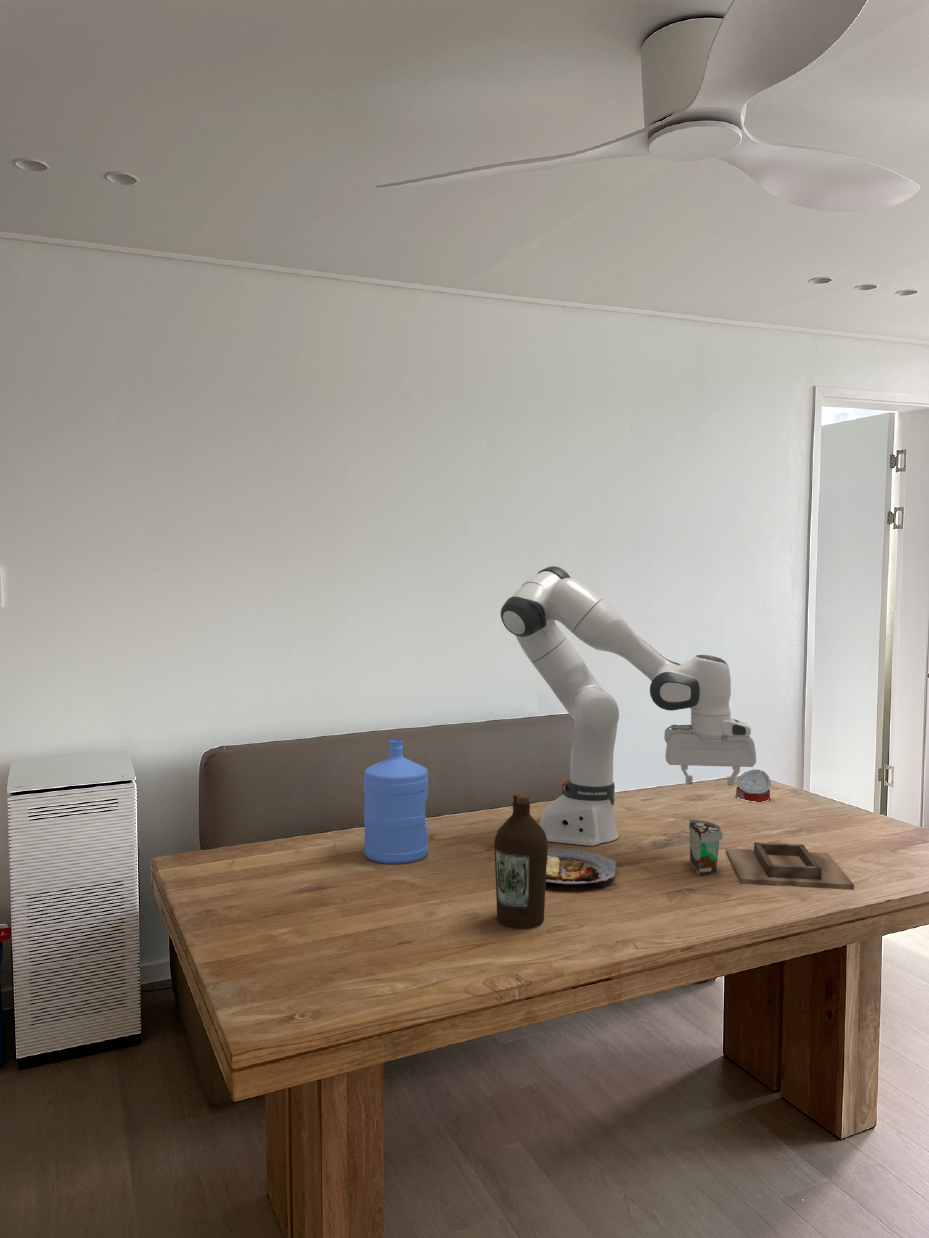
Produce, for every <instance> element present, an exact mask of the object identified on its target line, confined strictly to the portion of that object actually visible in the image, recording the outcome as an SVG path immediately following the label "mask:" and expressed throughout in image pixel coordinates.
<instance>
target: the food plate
mask: <svg viewBox="0 0 929 1238" xmlns="http://www.w3.org/2000/svg"><path fill="white" fill-rule="evenodd" d="M561 862H566V864H565V866H566V868H567V869H566V868H563V866H562V864H561ZM585 864H586V865H587V867H586V868H583V869H582V867H583V866H585ZM588 865H589V866H588ZM563 871H564V872H563ZM616 871H617V861H616V860H614V859H612V858H609V857H606V856H604V855H601V854H599V853H595V852H593V851H592V852H591V851H587V850H581V849H577V848H576V849H575V848H548V854H547V869H546V884H549V883H550V884H558V885H559V884H561V885H564V886H580V885H586V884H587V885H588V884H591V885H592V884H595V885H596V884H599V883H603V884H604V882H607V881H609V879H610V880H613V879H614V877H615V876H616ZM562 873H564V874H562Z"/></svg>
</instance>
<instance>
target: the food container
mask: <svg viewBox="0 0 929 1238" xmlns="http://www.w3.org/2000/svg"><path fill="white" fill-rule="evenodd" d="M688 823H689V824H688V825H689V826H688V828H689V863H690V864H691V865H692V867H693V869H694V868H695V869H694V870H695V872H696V873H697V875H699V876H708V875H709V874H710V875H712V874H711V873H713V874H715V873H716V872H717V869H718V859H719V847H720V841H722V839H723V832H722V830H721V827H720V826H719V825H718V824H716V823H714V822H711V821H707V820H701V819H689V822H688Z"/></svg>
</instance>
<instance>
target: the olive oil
mask: <svg viewBox="0 0 929 1238" xmlns="http://www.w3.org/2000/svg"><path fill="white" fill-rule="evenodd" d="M530 812H531V802H530V795H529V794H527V793H516V794H514V795H513V801H512V814H511V815H510V816H509V818H507V820H506V821H505V822H504V823H503V824H502V825H501V826H500V827H499V828H498V830H497V831H496V834H495V838H494V843H493V845H494V846H493V847H494V867H495V869H494V870H495V892H496V893H495V896H496V897H495V898H496V920H497V922H499V924H501V925H503V926H506V927H509V928H513V929H514V928H516V929H532V928H535V927H538V926H540V925H542V924H543V922H544V921H545V905H546V884H547V882H546V869H547V854H548V849H549V844H548V843H549V841H547V837H546V834H545V832H544V830H543V829H542V827H541V826H540V825H539V824H538V823H539V822H537V821H536V820H535V818H534V817H533V816H532V815H531V813H530Z"/></svg>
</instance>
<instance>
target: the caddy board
mask: <svg viewBox="0 0 929 1238" xmlns="http://www.w3.org/2000/svg"><path fill="white" fill-rule="evenodd" d="M753 845H754V846H753V849H749V848H747V849H746V848H729V847H727V848H725V854H726V853H727V854H726V856H727V855H728V856H727V858H728V859H729V862H730V864H731V867H732V868H733V870H734V872H735V875H736V874H737V875H736V877H737V876H738V877H737V879H738V881H739V880H740V881H739V883H740V882H741V883H740V884H745V883H752V884H751V885H765V884H780V885H779V886H784V885H791V886H790V887H803V886H806V887H805V888H807V887H808V886H810V887H808V888H823V887H833V888H832V889H842V888H846V889H847V890H854V889H855V884H854V883H853V881H852V880H851V879H850V878H849V877H848V875H847V874H846V873H845V872H844V871H843V869H841V867H840V866H839V865H838V863H836V861H835V860H834V859H833V858H832V856H831V855H830V854H829V853H828V852H812V851H809V850H808V849H807V848H806V847H805V845H804V844H800V843H799V844H798V843H778V842H777V843H776V842H774V843H773V842H756V841H755V842H754V843H753Z"/></svg>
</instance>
